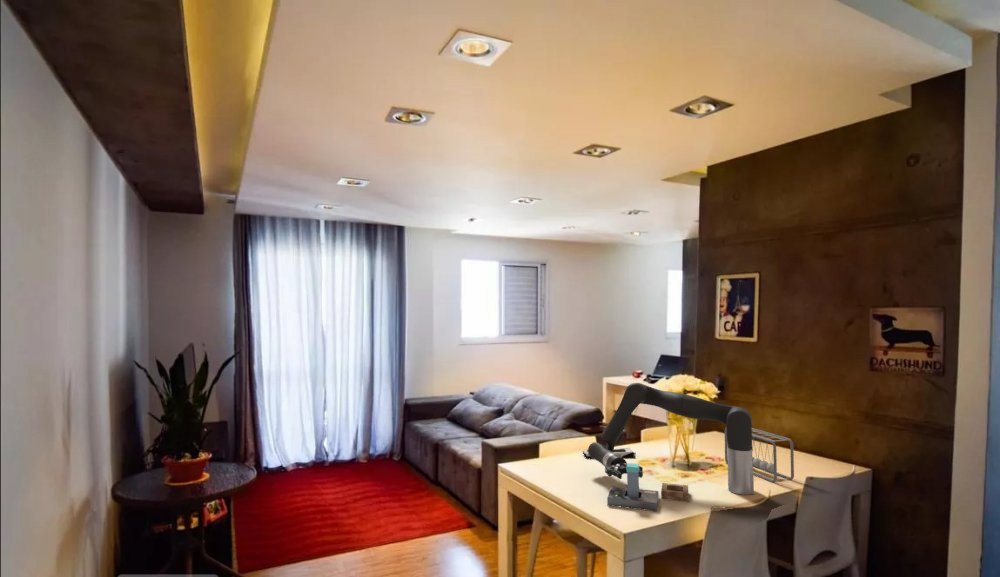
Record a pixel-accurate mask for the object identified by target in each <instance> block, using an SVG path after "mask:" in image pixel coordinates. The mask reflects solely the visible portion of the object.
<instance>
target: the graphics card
mask: <svg viewBox="0 0 1000 577" xmlns="http://www.w3.org/2000/svg"><path fill="white" fill-rule="evenodd" d="M613 453H616V454H618V455H619V456H620V457H622V458H623V459H636V457H637V456H636V455H637V454H636V452H634V451H633V449H631V448H630V447H621V448H614V450H613ZM583 454H584V455H583ZM582 455H583V456H584V458H585V457H586V458H585V459H586V460H587V458H590V459H592V457H590V456H589V454H588V448H587V449H583V450H582Z"/></svg>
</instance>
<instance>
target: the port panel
mask: <svg viewBox="0 0 1000 577" xmlns="http://www.w3.org/2000/svg"><path fill="white" fill-rule="evenodd" d="M659 496H660V495H659V490H649V489H642V488H639V498H638V497H629V496H627V487H624V486H623V487H621V486H613V485H611V487H610V490H609V493H608V494H607V498H606V501H607V502H606V503H607V506H608V505H613V506H612V507H617V506H621V507H620V508H625V507H629V508H628V509H634V508H636V509H635V510H642V509H645V510H644V511H653V512H657V511H658V507H659V506H658V505H659Z"/></svg>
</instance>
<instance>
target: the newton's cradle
mask: <svg viewBox="0 0 1000 577" xmlns="http://www.w3.org/2000/svg"><path fill="white" fill-rule="evenodd" d="M752 432H754V433H752V445H753V446H756V445H755V439H758V440H759V445H762V441H764V442H766V443H770V444H772V447H773V448H772V459H770V456H768V458H769V460H773V462H772V461H769V462H768V461H766V459H765V458H766V456H767V453H768V454H770V452H769V450H768V448H769V446H768V444H766V448H765V450H767V453H765V454H764V455H765V456H763V452H761V455H762V457H764V458H762V459H760V458H759V456H760V453H758V456H757V454H755V456H756V458H755V457H754V456H752V461H753V468H756V467H757V468H756V469H759V470H762V471H764V470H765V472H767V473H769V474H772V475H773V479H772V478H769V477H767V476H764V475H762V474H759V473H756V472H754V471H753V475H754V476H755V477H757V476H758V478H760V477H761V479H762V478H763V480H766V481H768V482H770V483H776V482H777V481H783V480H788V479H789V480H788V481H792V480H793V479H794V478H795V465H794V464H795V463H794V460H795V459H794V442H793V440H792V439H791V438H789V437H785V436H783V435H778V434H774V433H771V432H767V431H764V430H761V429H759V428H758V429H757V428H755V427H752ZM756 433H757V434H756ZM759 434H760V435H759ZM762 435H764V436H762ZM766 436H767V437H766ZM769 437H771V438H769ZM773 439H774V440H773ZM776 439H777V440H776ZM778 439H779V440H778ZM782 441H783V442H784V441H787V442H789V445H790V446H789V447H790V476H788V475H785V474H783V473H779V472H777V471H778V469H777V463H778V462H777V445H776V443H775V442H782ZM762 449H763V448H762V447H761V446H759V449H758V451H760V450H761V451H763V450H762ZM754 450H755V452H757V449H756V448H754V447H752V452H753V451H754ZM724 461H725V463H726V465H728V447H727V426H726V427H725V428H724ZM780 476H781V477H780ZM778 477H780V479H778Z"/></svg>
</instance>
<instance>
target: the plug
mask: <svg viewBox="0 0 1000 577" xmlns="http://www.w3.org/2000/svg"><path fill="white" fill-rule="evenodd" d="M639 466H640V464H639V463H631V462H630V463H629V462H628V463H627V466H626V468H627V474H626V475H627V476H626V480H627V481H626V483H627V487H626V488H627V496H629V497H638V498H639V489H640V480H639V479H640V477H639Z"/></svg>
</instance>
